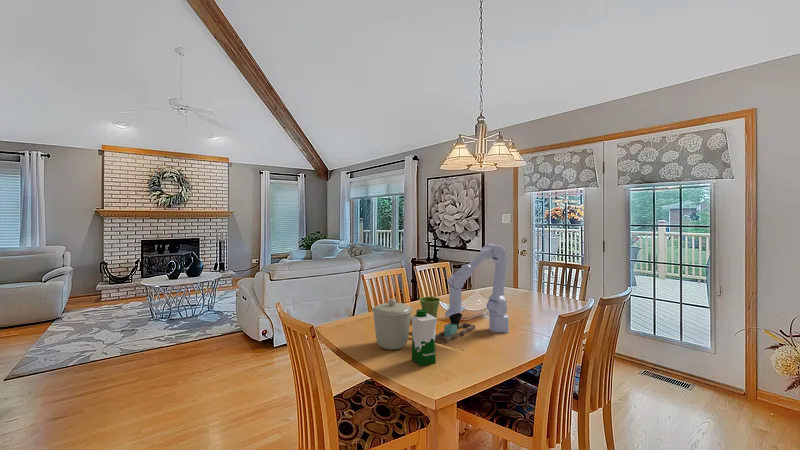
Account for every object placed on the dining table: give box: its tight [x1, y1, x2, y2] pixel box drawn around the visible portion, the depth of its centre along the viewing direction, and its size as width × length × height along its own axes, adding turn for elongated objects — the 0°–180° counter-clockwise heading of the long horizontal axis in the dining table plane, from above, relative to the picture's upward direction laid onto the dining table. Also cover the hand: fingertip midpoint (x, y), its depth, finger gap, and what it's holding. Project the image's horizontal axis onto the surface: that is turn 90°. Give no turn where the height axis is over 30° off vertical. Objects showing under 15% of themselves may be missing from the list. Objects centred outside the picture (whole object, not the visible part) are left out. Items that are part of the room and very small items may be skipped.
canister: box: [371, 298, 414, 351], centre depth 161 cm, size 18×18×21 cm
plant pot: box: [418, 296, 442, 318], centre depth 202 cm, size 12×12×11 cm
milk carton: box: [410, 308, 438, 367], centre depth 145 cm, size 9×9×20 cm
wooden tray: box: [435, 322, 476, 346], centre depth 174 cm, size 26×8×3 cm, turn 140°
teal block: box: [443, 322, 458, 338], centre depth 171 cm, size 5×4×6 cm
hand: (455, 328), depth 174 cm, fingers closed
